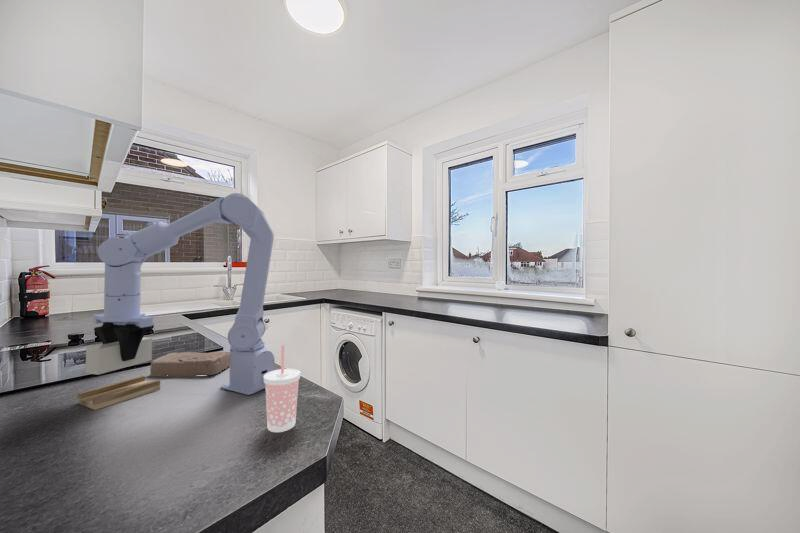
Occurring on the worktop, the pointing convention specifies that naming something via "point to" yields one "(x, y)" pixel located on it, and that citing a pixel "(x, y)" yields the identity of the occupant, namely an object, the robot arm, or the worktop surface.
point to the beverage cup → (281, 397)
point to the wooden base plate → (117, 392)
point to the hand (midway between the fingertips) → (121, 358)
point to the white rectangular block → (115, 357)
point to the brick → (190, 364)
